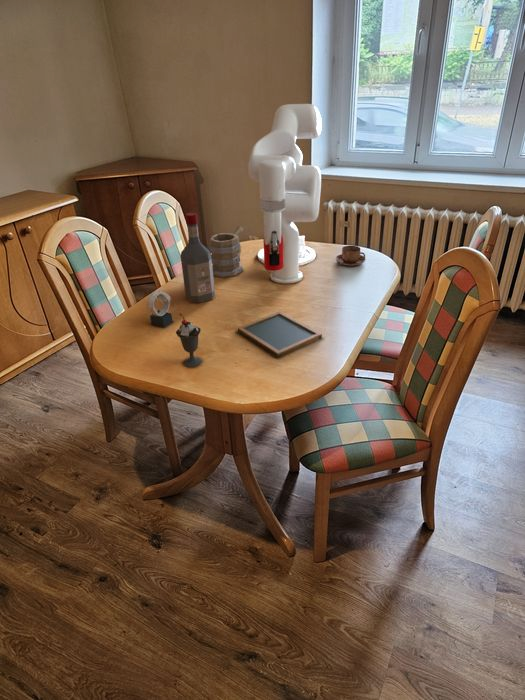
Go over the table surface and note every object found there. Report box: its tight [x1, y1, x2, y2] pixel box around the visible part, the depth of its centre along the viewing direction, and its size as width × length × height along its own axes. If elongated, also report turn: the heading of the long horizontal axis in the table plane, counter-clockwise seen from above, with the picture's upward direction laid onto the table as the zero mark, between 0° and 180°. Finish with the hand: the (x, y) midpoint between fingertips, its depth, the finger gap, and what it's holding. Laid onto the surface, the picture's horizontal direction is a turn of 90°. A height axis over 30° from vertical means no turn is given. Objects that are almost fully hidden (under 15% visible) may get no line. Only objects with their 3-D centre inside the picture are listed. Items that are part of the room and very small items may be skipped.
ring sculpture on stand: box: [147, 290, 174, 328], centre depth 147 cm, size 6×8×11 cm
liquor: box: [180, 212, 216, 304], centre depth 158 cm, size 9×9×30 cm
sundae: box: [175, 313, 202, 368], centre depth 125 cm, size 7×7×15 cm
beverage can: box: [262, 235, 284, 273], centre depth 146 cm, size 6×6×12 cm
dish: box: [257, 235, 317, 267], centre depth 196 cm, size 25×25×11 cm
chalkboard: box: [237, 310, 323, 359], centre depth 140 cm, size 20×17×2 cm
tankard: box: [208, 226, 244, 278], centre depth 185 cm, size 20×13×15 cm, turn 148°
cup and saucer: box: [335, 245, 366, 267], centre depth 188 cm, size 12×12×6 cm
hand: (273, 261), depth 147 cm, fingers closed on beverage can, 5 cm apart
